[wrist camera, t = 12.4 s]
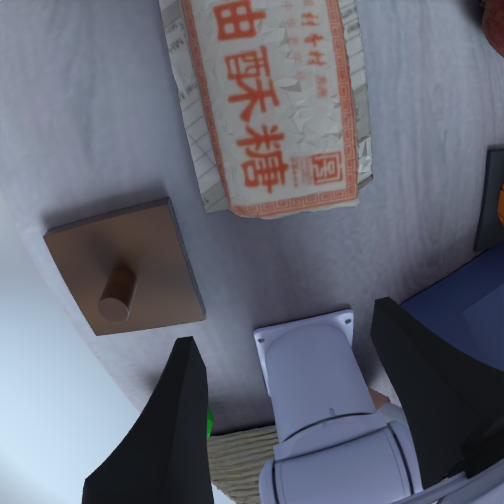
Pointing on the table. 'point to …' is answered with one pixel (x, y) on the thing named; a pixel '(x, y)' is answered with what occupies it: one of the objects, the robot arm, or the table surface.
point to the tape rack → (128, 269)
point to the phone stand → (468, 308)
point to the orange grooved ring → (501, 205)
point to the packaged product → (272, 102)
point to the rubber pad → (491, 203)
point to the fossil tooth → (241, 462)
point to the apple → (494, 23)
